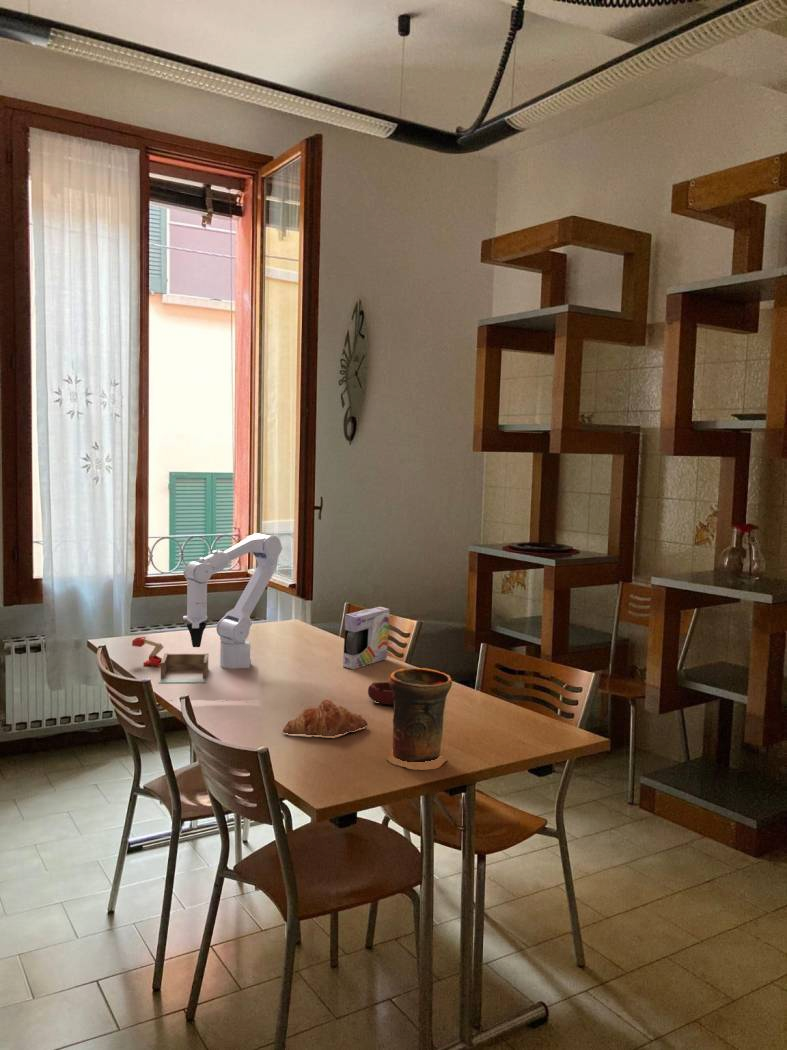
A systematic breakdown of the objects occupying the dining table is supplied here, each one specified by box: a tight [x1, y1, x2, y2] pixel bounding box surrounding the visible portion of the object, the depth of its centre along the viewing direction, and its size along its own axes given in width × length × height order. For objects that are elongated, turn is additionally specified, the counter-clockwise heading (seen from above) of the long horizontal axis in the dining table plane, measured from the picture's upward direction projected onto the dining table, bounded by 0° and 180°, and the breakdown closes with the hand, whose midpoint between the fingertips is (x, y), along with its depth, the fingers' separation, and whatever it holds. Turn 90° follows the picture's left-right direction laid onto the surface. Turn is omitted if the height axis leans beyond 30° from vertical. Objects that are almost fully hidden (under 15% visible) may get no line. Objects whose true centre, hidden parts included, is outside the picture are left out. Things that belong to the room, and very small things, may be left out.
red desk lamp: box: [131, 636, 165, 668], centre depth 264 cm, size 3×14×10 cm, turn 84°
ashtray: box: [367, 681, 394, 706], centre depth 243 cm, size 18×16×5 cm
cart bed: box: [160, 653, 209, 680], centre depth 257 cm, size 13×11×6 cm
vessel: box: [388, 667, 453, 762], centre depth 198 cm, size 14×14×20 cm
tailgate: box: [158, 678, 207, 684], centre depth 249 cm, size 13×1×4 cm
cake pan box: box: [342, 606, 390, 670], centre depth 281 cm, size 19×5×18 cm, turn 143°
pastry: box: [282, 699, 368, 736], centre depth 215 cm, size 17×15×8 cm
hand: (196, 646), depth 259 cm, fingers closed
